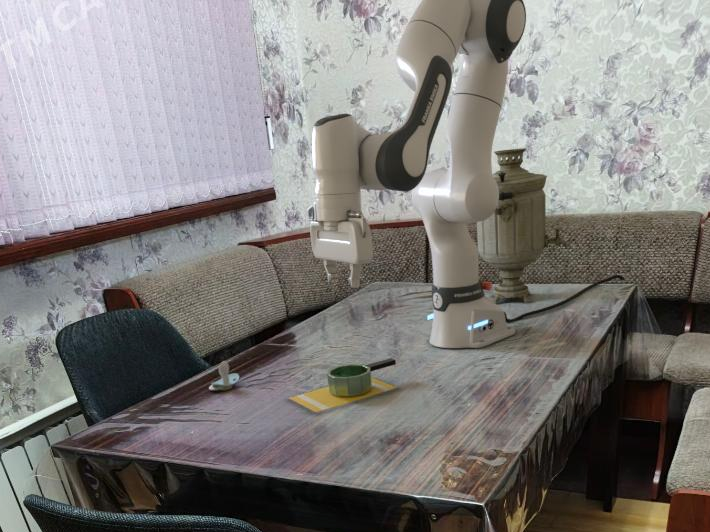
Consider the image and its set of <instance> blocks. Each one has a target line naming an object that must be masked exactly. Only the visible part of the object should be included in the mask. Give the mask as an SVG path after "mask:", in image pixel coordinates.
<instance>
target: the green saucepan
mask: <svg viewBox="0 0 710 532" xmlns="http://www.w3.org/2000/svg"><path fill="white" fill-rule="evenodd" d="M396 365H397V361H396V359H394V358H391V357H390V358H386V359H383V360H379V361H375V362H372V363H368V364H356V363H355V364H353V363H350V364H344V365H338V366H335V367H333V368H331V369H329V370H328V372H327V374H326V375H327V384H328V387H329V392H330V393H331V394H334V395H336V396H341V397H352V396H358V395H362V394H364V393H366V392H368V391H370V390H371V389H372V380H371V377H372V372H375V371H377V370H380V369H385V368H388V367H392V366H396Z"/></svg>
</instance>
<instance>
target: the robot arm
mask: <svg viewBox="0 0 710 532" xmlns="http://www.w3.org/2000/svg"><path fill="white" fill-rule="evenodd" d="M526 24H527V9H526V6H525V3H524V0H421V1H420V3H419V4H418V6H417V7H416V9H415V11H414V13H412V16H411V17H410V19H409V21H408V23H407V25H406V27H405V29H404V31H403V33H402V35H401V37H400V39H399V42H398V45H397V48H396V52H395V58H394V59H395V65H396V69H397V72H398V74H399V77H400V78H401V80H402V81H403V82H404V83H405V85H407V87H408V88H410V89H411V90H412V91H413V92H414V95H413V98H412V100H411V102H410V106H409V108H408V111H407V114H406V117H405V119H404V122H403V123H401V126H399V127H397V128H396V129H394V130H393V131H390V132H385V133H375V134H374V133H373V132H371V131H369V130H367V129H365V128H364V127H362V125H360V124H359V123H358V122H357V121H356V120H355V118H354V116H353V115H352V114H350V113H339V114H335V115H329V116H328V115H327V116H325V117H322V118H320V119H318V120H316V122H315V123H314V125H313V129H312V135H311V154H312V155H311V157H312V170H313V174H314V176H315V177H314V178H315V189H314V196H315V200H314V201H313V203H312V204H311V205H310V206H309V207H308V208H307V210H306V217H307V220H308V221H310V224H309V234H310V242H311V249H312V253H313V255H314V258H315V259H319V260H323V266H324V269H325V272H326V274H327V281H328V283H330V284H337V283H339V280H340V279H339V273H337V269H336V263H338V262H339V263H343V264H349V270H350V277H348V278H347V279H348V287H349V288H353V289H356V288H359V287H361V276H362V272H363V265H368V264H372V261H373V259H374V249H373V239H372V233H371V228H370V225H369V223H368V222H367V219H366V217H365V216H364V213H363V212H362V211H363V210H362V209H363V208H362V195H361V194H362V192H361V190H365V191H366V190H367V191H369V190H371V191H373V190H374V191H389V190H390V191H397V192H403V193H404V192H411V202H412V205H413V207H414V209H415V210H416V212H417V213H418V214H419V216H420V218H421V221H422V223H423V226H424V229H425V232H426V235H427V239H428V242H429V243H428V244H429V247H430V252H431V265H432V284H431V300H432V307H433V313H431V314H429V315H427V321H429V320H431V319H432V324H431V331H430V336H429V340H428V342H429V344H430V345H431V346H434V347H437V348H443V349H465V348H466V349H467V348H468V349H469V348H470V349H480V348H484V347H487V346H489V345H491V344H494V343H497V342H498V341H502V340H504V339H506V338H509V337H511V336H513V335H516V330H515V328H514V327H511V326H510V325H507V323H513V322H517V321H519V320H522V319H524V318H527V317H530V316H533V315H537V314H541V313H544V312H547V311H551V310H553V309H555V308H559V307H560V306H564V305H565V304H567V303H569V302H571V301H573V300H574V299H576V298H578V297H579V296H581V295H582V294H584V293H586V292H587V291H589V290H592V288H594V287H597V286H598V285H601V284H605V283H607V282H609V281H611V280H612V281H613V280H614V279H620V280H621V281H625V280H626V279H625V278H624V276H622V275H621V274H614V275H611V276H609V277H606V278H604V279H601V280H598V281H596V282H594V283H592V284H590V285H587V286H586V287H585V288H582V289H581V290H580V291H578V292H576V293H575V294H573V295H571V296H569V297H568V298H566V299H564V300H561V301H560V302H557V303H555V304H552V305H549V306H546V307H543V308H539V309H535V310H532V311H528V312H525V313H522V314H520V315H518V316H517V317H515V318H511V319H510V318H508V315H507V313H506V312H505V311H504V310H503V308H502V307H500V306H499V305H497V304H495V303H494V302H492V300H491V299H490V298H488V297H487V296H485V295H486V293H485V292H484V291H488V292H489V291H491V290H492V289H493V283H492V282H491V281H487V280H484V281H483V282H482V281H480V280H479V279H480V278H479V275H480V273H479V270H480V269H479V268H480V267H479V251H478V244H477V243H476V242H475V241H474V239H473V237H472V236H471V234H470V232H469V228H468V224H469V225H470V224H474V223H475V224H477V222H480V221H483V220H486V219H488V218H489V217H490V216H491V215H492V214H493V213H494V212H495V210H496V208H497V205H498V201H499V189H498V185H497V183H496V181H495V179H494V177H493V174H494V173H493V169H492V165H493V164H492V153H493V145H494V144H493V143H494V139H495V135H496V130H497V127H498V123H499V118H500V115H501V110H502V106H503V103H504V99H505V93H506V86H507V80H508V73H509V72H508V71H509V59H510V57H511V56H512V54H513V53H514V50H516V48H517V47H518V46H519V44H520V42H521V40H522V37H523V35H524V33H525V29H526ZM458 54H459V55H462V56H463V58H462V59H463V64H462V65H461V68H460V70H459V74H458V77H457V80H456V83H455V87H454V91H453V94H452V97H451V98H452V99H451V103H450V107H449V111H448V115H447V120H446V124H445V128H444V140H445V141H446V143H447V145H448V149H449V165H448V168H447V169H446V168H436V169H433V170H430V171H427V168H428V163H429V157H430V151H431V147H432V143H433V140H434V137H435V134H436V131H437V128H438V126H439V123H440V121H441V118H442V115H443V112H444V110H445V107H446V104H447V101H448V98H449V95H450V91H451V88H452V82H453V72H452V66H453V64H454V61H455V59H456V58H457V56H458ZM426 171H427V172H426Z"/></svg>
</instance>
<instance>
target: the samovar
mask: <svg viewBox="0 0 710 532" xmlns="http://www.w3.org/2000/svg"><path fill="white" fill-rule="evenodd" d="M525 151H527V148H525V147H524V148H511V149H510V148H509V149H502V150H497V151H493V153H494V154H495V155H496V157H497V165H498V166H499V170H497V171H496V172H493V173H492V174H493V177H494V179H495V181H496V183H497V185H498V189H499V201H498V205H497V208H496V210H495V212H494V213H493V214H492V215H491V216H490V217H489V218H488V219H486V220H483V221H480V222H476V235H477V237H476V238H477V248H478V255H479V257H480V258H481V259H482V260H483V261H484V262H485V263H487V264H488V265H489V266H490V267H492V268H495V269H497V270H499V274H498V276H499V278H501V279H502V282H501V283H498V284H497V286H495V287H494V288H493V291H492V297H493V299H492V300H491V301H492V302H494V303H495V304H496V305H497V304H498V302H499V301H500V300H502V299H503V298H505V299H511V298H512V299H515V298H519V299H521V300H522V301H524V304H530V303H531V300H530V299H529V298H528V296H529V295H531V292H530V291H529V290H530V289H529V286H528V285H526V284H525V282H523V281H520V278H521V277H522V276H524V268H525V267H528V266H530V265H531V264H533V263H534V262H536V260H538V258H539V257H540V256H541V255H542V254H543V252H544V251H545V248H548V247H549V244H555V246H556V247H559V246H561V245H562V246H563V248H566V247H569V244H568V242H567V241H566V240H565V239H564V238H562V237H561V236H560V232H559V230H563V229H564V225H562V224H559V223H557V224H552V225H551V227H550V229H553V230H554V231H555V237H554V238H549V235H548V234H546V231H547V230H546V226H547V225H546V224H547V223H546V220H547V219H546V211H547V210H546V209H547V207H546V201H547V200H546V199H547V197H546V196H547V195H546V193H545V191H544V188H545V185H546V183H547V178H548V176H547V175H545V174H543V173H534V172H530V171H529V170H528V169H525V168H523V167H522V166H521V165H522V164H523V162H524V159H523V158H524V153H525Z"/></svg>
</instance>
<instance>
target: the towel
mask: <svg viewBox="0 0 710 532" xmlns="http://www.w3.org/2000/svg"><path fill="white" fill-rule="evenodd" d="M371 380H372V389H371V390H370V391H368V392H366V393H364V394H362V395H358V396H352V397H341V396H336V395H334V394H331V393H330V392H329V386H326V387H323V388H319V389H315V390H312V391H309V392H308V391H307V392H305V393H301V394H298V395H294V396H291V397H288V399H289V400H292V401H293V402H295V403H298V404H299V405H301V406H303V407H304V408H307V409H309V410H310V411H313V413H319V412H323V411H326V410H330V409H333V408H335V407H338V406H343V405H346V404H349V403H352V402H356V401H359V400H362V399H366V398H370V397H372V396H376V395H378V394H382V393H385V392H389V391H392V390H395V389H398V387H397V386H394V385H392V384H389V383H387V382H385V381H382V380H379V379H377V378H374V377H372V376H371Z"/></svg>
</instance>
